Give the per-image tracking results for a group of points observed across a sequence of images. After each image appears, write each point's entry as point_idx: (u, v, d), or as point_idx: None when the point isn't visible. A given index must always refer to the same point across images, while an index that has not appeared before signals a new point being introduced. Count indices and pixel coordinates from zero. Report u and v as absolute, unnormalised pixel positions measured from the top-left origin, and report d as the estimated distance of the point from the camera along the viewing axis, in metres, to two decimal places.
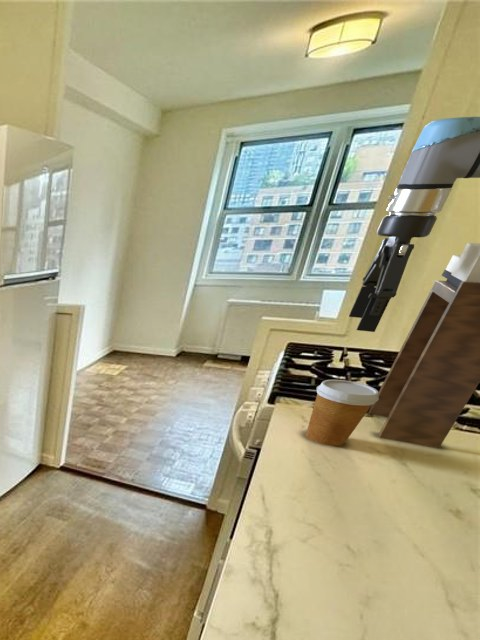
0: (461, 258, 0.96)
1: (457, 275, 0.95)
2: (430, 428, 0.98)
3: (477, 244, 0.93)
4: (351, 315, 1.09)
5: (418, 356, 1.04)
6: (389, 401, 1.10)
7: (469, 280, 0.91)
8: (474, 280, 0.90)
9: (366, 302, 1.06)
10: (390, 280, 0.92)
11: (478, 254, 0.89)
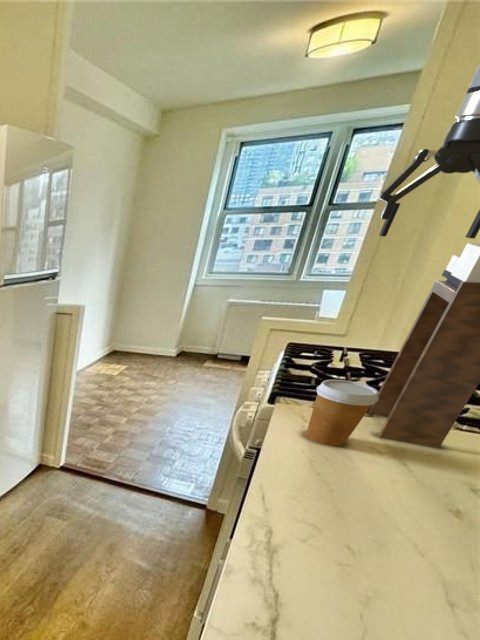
0: (461, 258, 0.96)
1: (457, 275, 0.95)
2: (430, 428, 0.98)
3: (477, 244, 0.93)
4: (466, 235, 1.02)
5: (418, 356, 1.04)
6: (389, 401, 1.10)
7: (469, 280, 0.91)
8: (474, 280, 0.90)
9: (477, 220, 0.99)
10: (391, 184, 1.04)
11: (478, 254, 0.89)
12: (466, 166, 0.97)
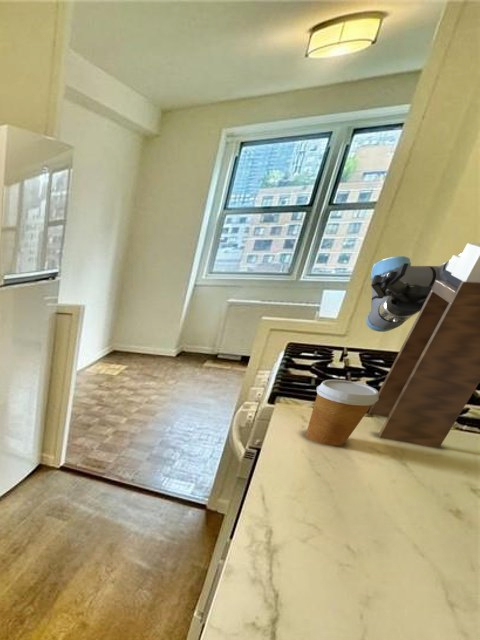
0: (461, 258, 0.96)
1: (457, 275, 0.95)
2: (430, 428, 0.98)
3: (477, 244, 0.93)
4: None
5: (418, 356, 1.04)
6: (389, 401, 1.10)
7: (469, 280, 0.91)
8: (474, 280, 0.90)
9: None
10: None
11: (478, 254, 0.89)
12: None
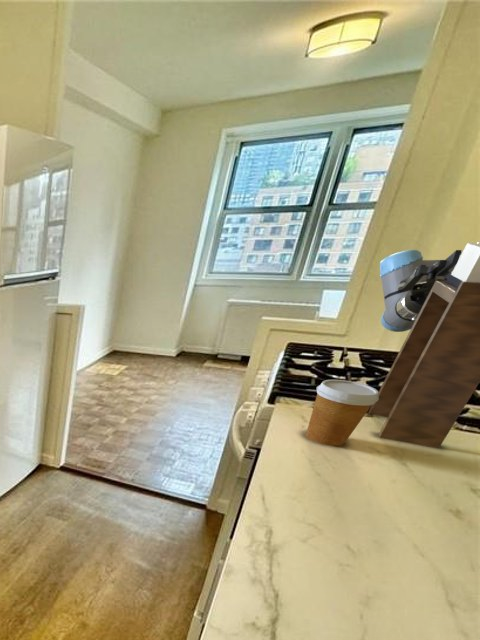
0: (461, 258, 0.96)
1: (457, 275, 0.95)
2: (430, 428, 0.98)
3: (477, 244, 0.93)
4: None
5: (418, 356, 1.04)
6: (389, 401, 1.10)
7: (469, 280, 0.91)
8: (474, 280, 0.90)
9: None
10: (412, 276, 1.08)
11: (478, 254, 0.89)
12: None
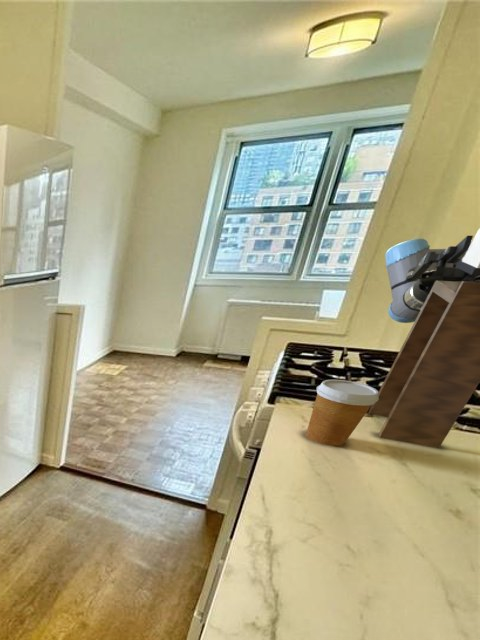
0: (472, 244, 0.93)
1: (468, 261, 0.92)
2: (430, 428, 0.98)
3: None
4: None
5: (418, 356, 1.04)
6: (389, 401, 1.10)
7: None
8: None
9: None
10: (421, 264, 1.04)
11: None
12: None
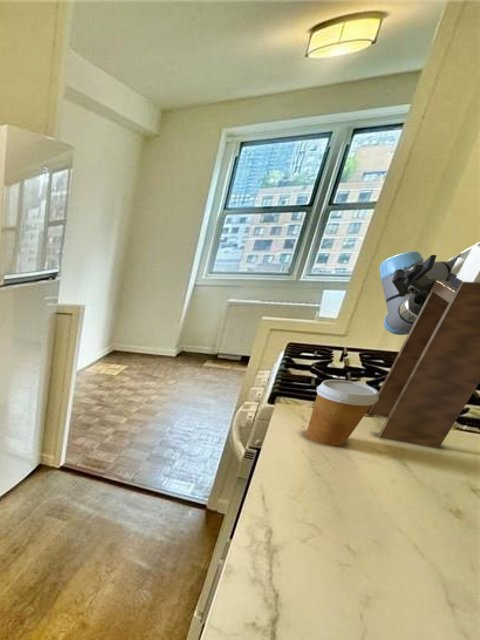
0: (467, 260, 0.93)
1: (463, 278, 0.92)
2: (430, 428, 0.98)
3: None
4: None
5: (418, 356, 1.04)
6: (389, 401, 1.10)
7: None
8: None
9: None
10: None
11: None
12: None
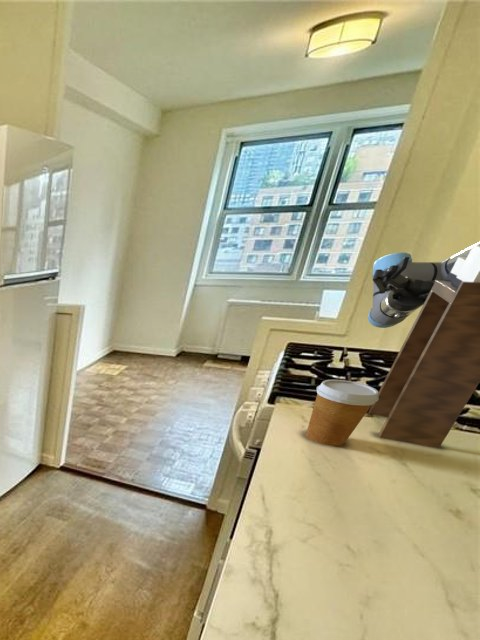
0: (467, 260, 0.93)
1: (463, 278, 0.92)
2: (430, 428, 0.98)
3: None
4: None
5: (418, 356, 1.04)
6: (389, 401, 1.10)
7: None
8: None
9: None
10: None
11: None
12: None
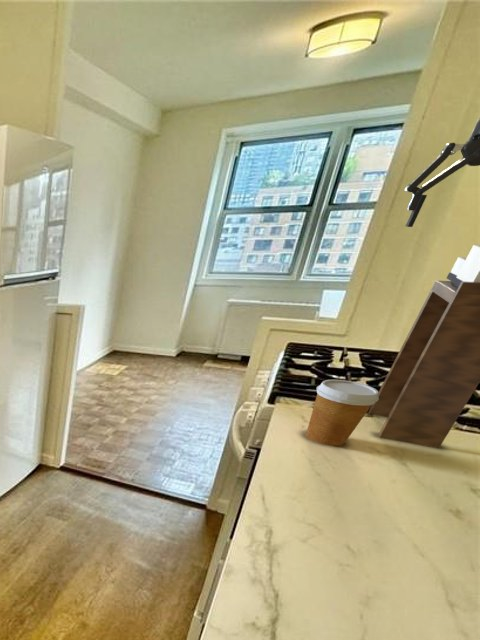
0: (467, 260, 0.93)
1: (463, 278, 0.92)
2: (430, 428, 0.98)
3: None
4: None
5: (418, 356, 1.04)
6: (389, 401, 1.10)
7: None
8: None
9: None
10: (418, 176, 1.08)
11: None
12: None
